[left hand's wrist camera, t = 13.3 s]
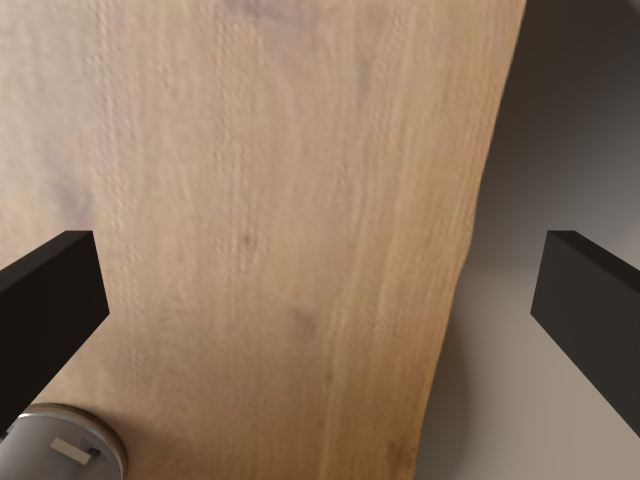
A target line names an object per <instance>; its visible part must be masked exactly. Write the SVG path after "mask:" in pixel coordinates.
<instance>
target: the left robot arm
mask: <svg viewBox="0 0 640 480" xmlns="http://www.w3.org/2000/svg"><path fill="white" fill-rule="evenodd" d="M109 314H110V312H109V307H108V302H107V298H106V293H105V288H104V283H103V279H102V274H101V269H100V264H99V260H98V255H97V250H96V245H95V241H94V236H93V231H64V232H63V233H61V234H59V235H58V236H56V237H55V238H53V239H51V240H50V241H48V242H46V243H45V244H43V245H41V246H40V247H38V248H37V249H35V250H33V251H32V252H30V253H28V254H27V255H25V256H24V257H22V258H20V259H19V260H17V261H15V262H14V263H12V264H10V265H9V266H7V267H6V268H4V269H2V270H1V271H0V480H124V478H125V476H126V473H127V468H128V460H127V454H126V451H125V449H124V447H123V444H122V443H121V441H120V440H119V438H118V437H117V436H116V434H115V433H114V432H113V431H112V430H111V429H110V428H109V427H108V426H106V425H105V424H104V423H103V422H101V421H100V420H98V419H97V418H95V417H93V416H91V415H89V414H87V413H85V412H83V411H80V410H78V409H74V408H71V407H67V406H62V405H56V404H35V405H30V404H31V402H32V401H33V400H34V399H35V398H36V397H37V396H38V394H39V393H40V392H41V391H42V390H43V389H44V388H45V387H46V385H47V384H48V383H49V382H50V381H51V380H52V379H53V377H54V376H55V375H56V374H57V373H58V372H59V371H60V370H61V368H62V367H63V366H64V365H65V364H66V363H67V362H68V360H69V359H70V358H71V357H72V356H73V355H74V354H75V352H76V351H77V350H78V349H79V348H80V347H81V346H82V345H83V343H84V342H85V341H86V340H87V339H88V338H89V337H90V335H91V334H92V333H93V332H94V331H95V330H96V329H97V328H98V326H99V325H100V324H101V323H102V322H103V321H104V320H105V318H106V317H107V316H108V315H109ZM530 314H531V315H532V316H533V317H534V318H535V319H536V321H537V322H538V323H539V324H540V325H541V326H542V327H543V329H544V330H545V331H546V332H547V333H548V334H549V335H550V337H551V338H552V339H553V340H554V341H555V342H556V343H557V345H558V346H559V347H560V348H561V349H562V350H563V351H564V352H565V354H566V355H567V356H568V357H569V358H570V359H571V360H572V362H573V363H574V364H575V365H576V366H577V367H578V368H579V369H580V371H581V372H582V373H583V374H584V375H585V376H586V377H587V379H588V380H589V381H590V382H591V383H592V384H593V385H594V386H595V388H596V389H597V390H598V391H599V392H600V393H601V394H602V396H603V397H604V398H605V399H606V400H607V401H608V402H609V404H610V405H611V406H612V407H613V408H614V409H615V410H616V412H617V413H618V414H619V415H620V416H621V417H622V418H623V419H624V421H625V422H626V423H627V424H628V425H629V426H630V427H631V428H632V430H633V431H634V432H635V433H636V434H637V435H638V436H639V438H640V271H639V270H638V269H636V268H634V267H633V266H631V265H630V264H628V263H626V262H625V261H623V260H621V259H620V258H618V257H616V256H615V255H613V254H612V253H610V252H608V251H607V250H605V249H603V248H602V247H600V246H599V245H597V244H595V243H594V242H592V241H590V240H589V239H587V238H585V237H584V236H582V235H581V234H579V233H577V232H576V231H547V236H546V241H545V245H544V250H543V255H542V260H541V264H540V269H539V274H538V279H537V283H536V288H535V293H534V298H533V303H532V307H531V312H530Z"/></svg>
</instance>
